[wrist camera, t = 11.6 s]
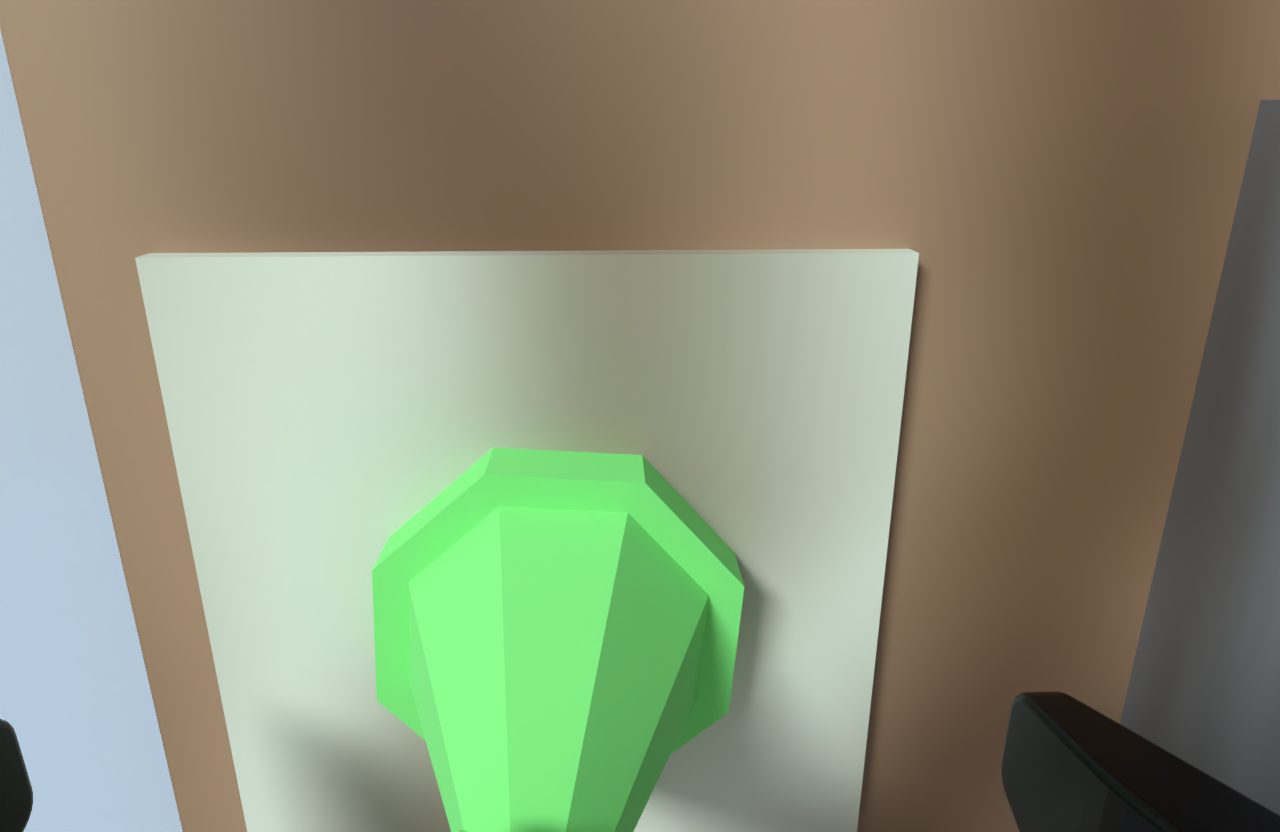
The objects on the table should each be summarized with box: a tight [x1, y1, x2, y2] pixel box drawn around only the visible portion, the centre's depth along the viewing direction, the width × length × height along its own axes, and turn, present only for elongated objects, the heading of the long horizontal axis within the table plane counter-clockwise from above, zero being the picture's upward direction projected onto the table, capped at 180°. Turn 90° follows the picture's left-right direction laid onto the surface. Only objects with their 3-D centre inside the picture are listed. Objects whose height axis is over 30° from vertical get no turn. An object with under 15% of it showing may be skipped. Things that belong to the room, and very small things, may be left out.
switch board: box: [0, 0, 1280, 832], centre depth 9 cm, size 21×13×6 cm, turn 90°
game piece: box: [372, 447, 744, 832], centre depth 7 cm, size 4×4×6 cm
